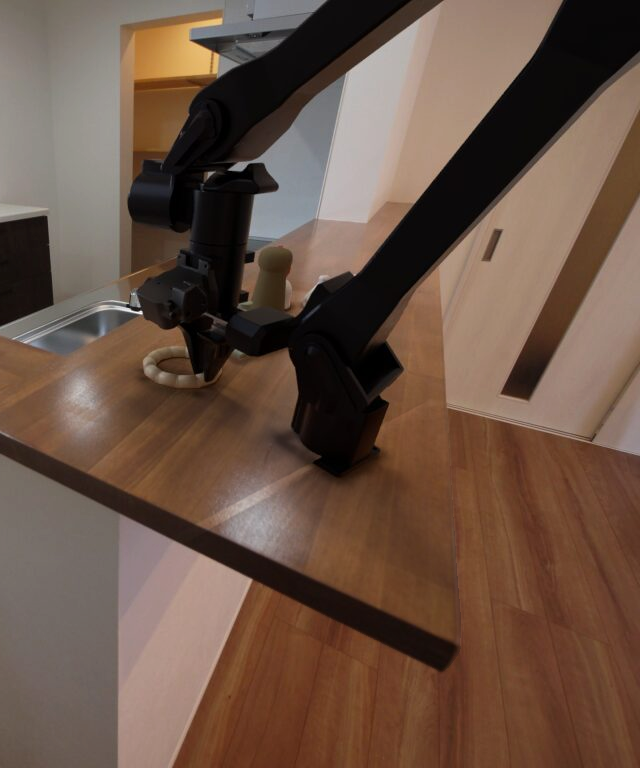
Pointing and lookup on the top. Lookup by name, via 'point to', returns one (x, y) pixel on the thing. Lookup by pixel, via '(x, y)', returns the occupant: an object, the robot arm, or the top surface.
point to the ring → (169, 378)
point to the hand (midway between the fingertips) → (203, 377)
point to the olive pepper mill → (272, 278)
